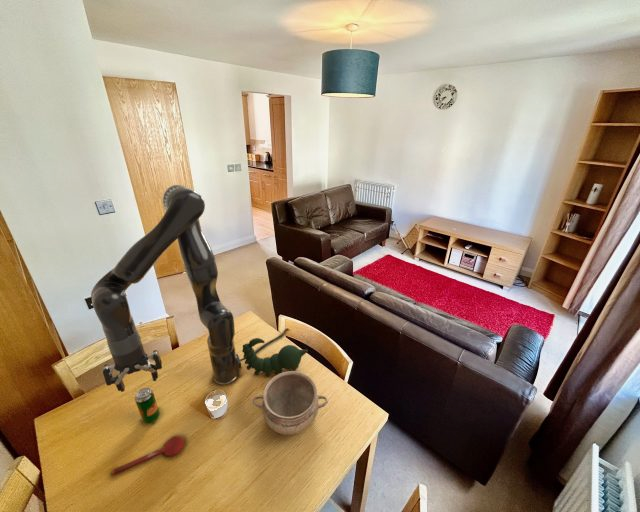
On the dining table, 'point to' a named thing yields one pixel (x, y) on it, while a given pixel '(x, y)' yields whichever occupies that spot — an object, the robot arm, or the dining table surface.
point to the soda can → (147, 405)
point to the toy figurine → (272, 358)
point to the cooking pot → (290, 402)
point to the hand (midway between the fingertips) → (139, 384)
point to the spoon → (156, 453)
